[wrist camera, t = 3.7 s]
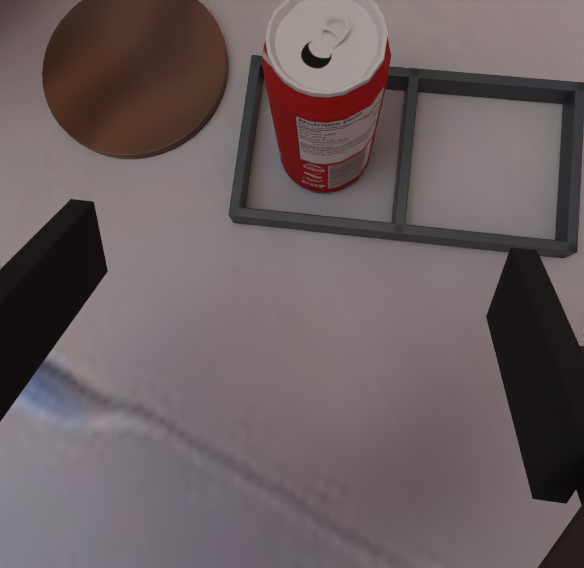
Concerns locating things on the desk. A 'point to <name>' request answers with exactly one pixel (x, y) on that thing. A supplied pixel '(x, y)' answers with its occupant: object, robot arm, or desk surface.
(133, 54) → the coaster
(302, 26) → the soda can
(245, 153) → the rack
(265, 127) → the desk surface
